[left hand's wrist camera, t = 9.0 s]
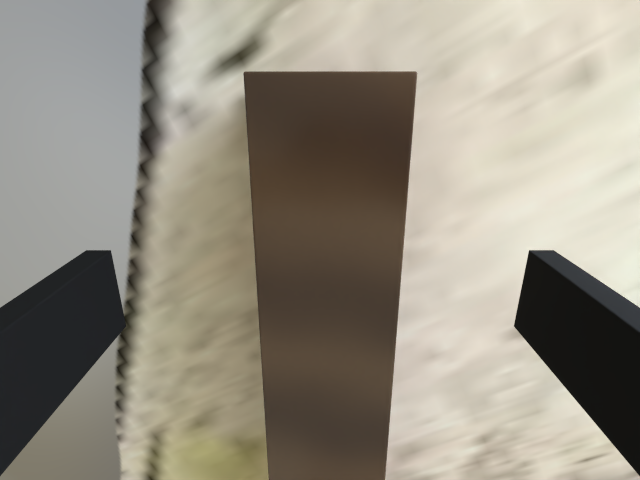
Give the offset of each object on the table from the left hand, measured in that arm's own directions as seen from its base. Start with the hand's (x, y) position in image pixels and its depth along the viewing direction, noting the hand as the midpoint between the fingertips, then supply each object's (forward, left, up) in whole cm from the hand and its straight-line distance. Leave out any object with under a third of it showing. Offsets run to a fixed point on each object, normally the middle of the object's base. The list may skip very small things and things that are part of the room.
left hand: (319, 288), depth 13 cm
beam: (+29, -6, -11) cm, 31 cm away
